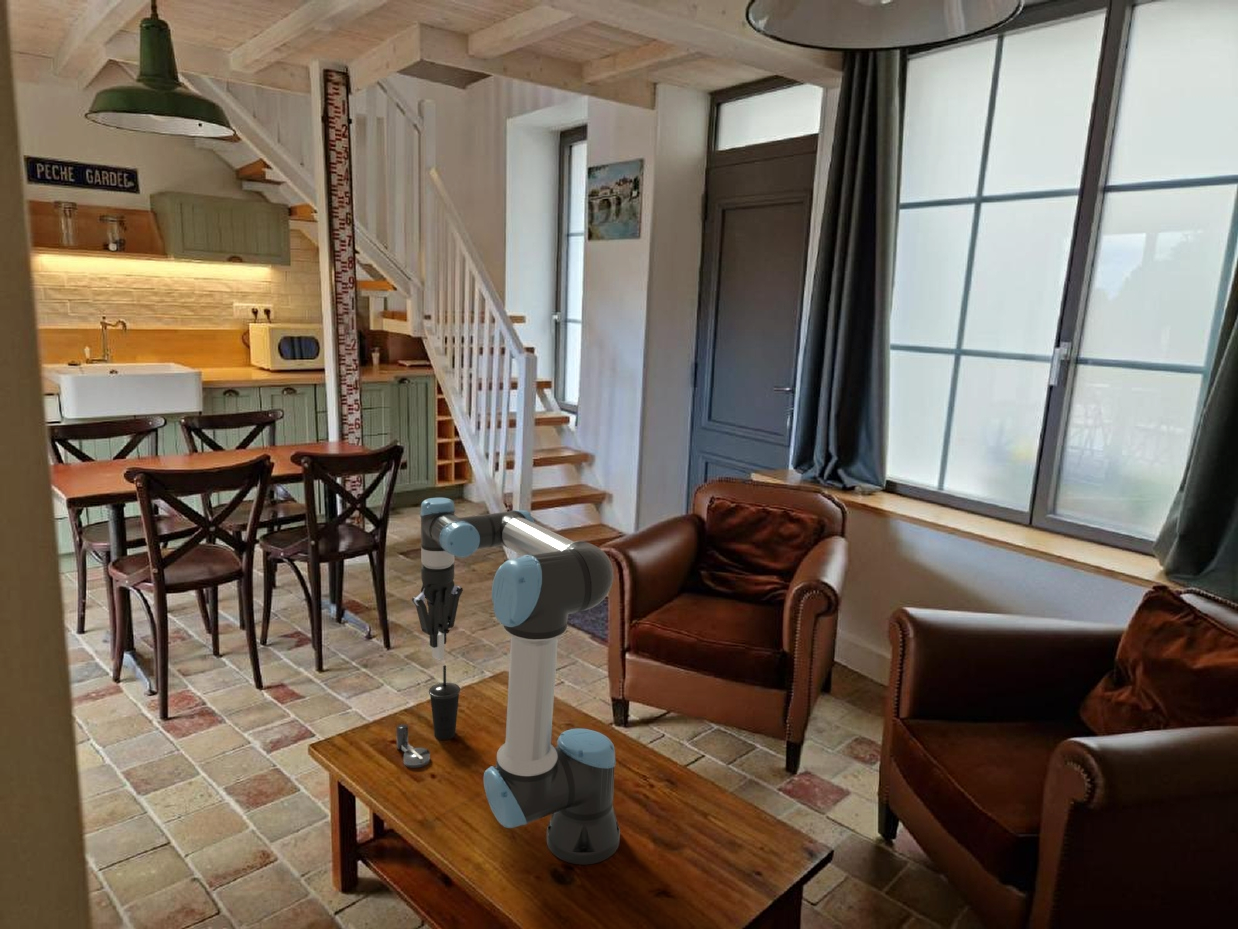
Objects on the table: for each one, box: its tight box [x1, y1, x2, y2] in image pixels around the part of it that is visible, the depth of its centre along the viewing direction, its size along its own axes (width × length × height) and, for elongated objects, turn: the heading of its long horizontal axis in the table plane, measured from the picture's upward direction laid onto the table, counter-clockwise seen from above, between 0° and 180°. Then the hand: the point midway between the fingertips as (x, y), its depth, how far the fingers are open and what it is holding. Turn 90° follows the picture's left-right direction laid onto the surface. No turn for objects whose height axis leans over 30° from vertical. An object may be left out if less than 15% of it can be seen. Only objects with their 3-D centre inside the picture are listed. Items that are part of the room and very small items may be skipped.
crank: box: [396, 723, 431, 769], centre depth 188 cm, size 11×6×6 cm, turn 43°
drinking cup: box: [428, 664, 461, 741], centre depth 197 cm, size 8×8×20 cm
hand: (438, 658), depth 189 cm, fingers closed
